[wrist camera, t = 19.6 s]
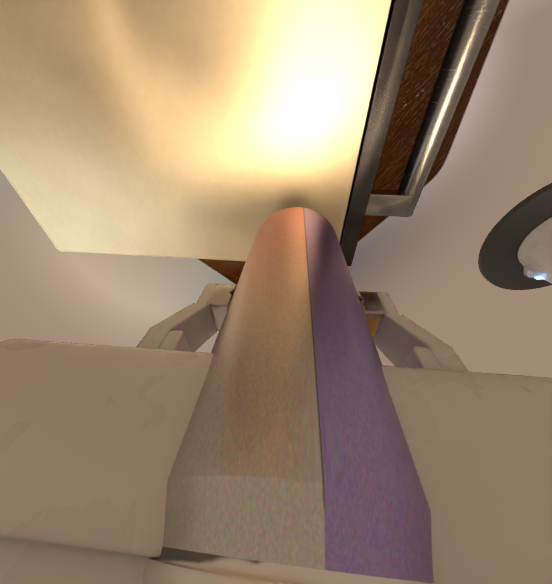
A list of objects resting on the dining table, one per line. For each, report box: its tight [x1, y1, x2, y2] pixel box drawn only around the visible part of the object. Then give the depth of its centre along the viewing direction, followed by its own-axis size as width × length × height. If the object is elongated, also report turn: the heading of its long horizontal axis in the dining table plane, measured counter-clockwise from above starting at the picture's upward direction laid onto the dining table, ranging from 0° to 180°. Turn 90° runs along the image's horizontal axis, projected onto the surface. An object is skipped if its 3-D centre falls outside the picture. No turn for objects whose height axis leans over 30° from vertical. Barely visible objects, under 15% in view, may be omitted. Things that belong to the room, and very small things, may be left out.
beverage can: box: [143, 207, 434, 584], centre depth 10 cm, size 6×6×15 cm
